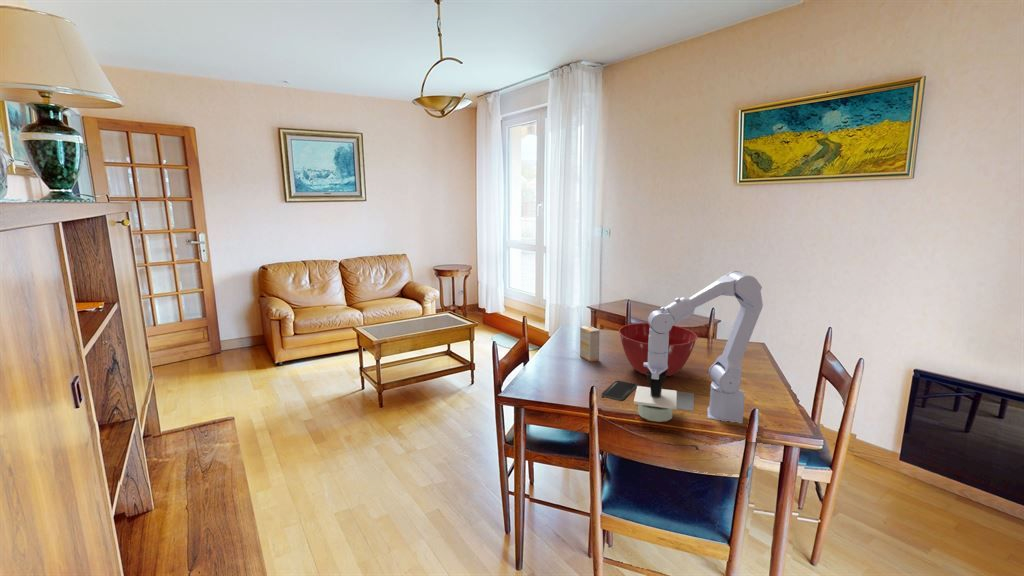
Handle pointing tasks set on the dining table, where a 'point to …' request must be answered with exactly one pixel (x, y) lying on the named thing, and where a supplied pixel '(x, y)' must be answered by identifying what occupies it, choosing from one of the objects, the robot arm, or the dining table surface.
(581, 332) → the supplement box
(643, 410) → the bowl
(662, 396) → the lid
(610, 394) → the phone
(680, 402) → the mat
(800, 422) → the dining table surface
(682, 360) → the mixing bowl
